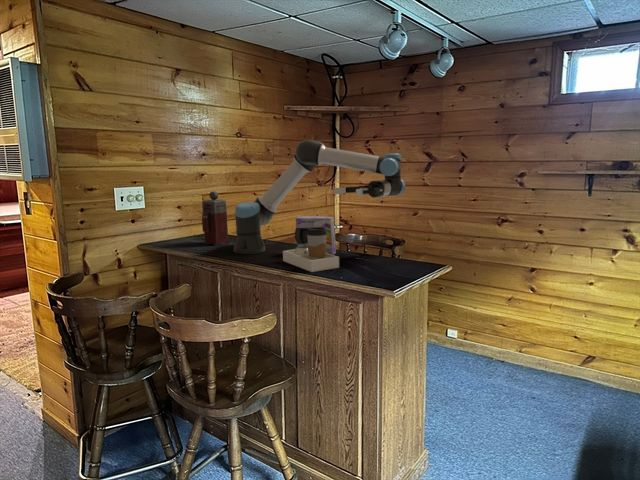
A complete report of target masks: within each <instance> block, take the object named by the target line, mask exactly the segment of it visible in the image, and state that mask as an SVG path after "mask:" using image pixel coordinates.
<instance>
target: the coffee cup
mask: <svg viewBox="0 0 640 480" xmlns="http://www.w3.org/2000/svg"><path fill="white" fill-rule="evenodd" d="M326 234H327V233H326V230H325V228H323V227H313V228H308V231H307V239H308V252H309V259H310V260H317V259H324V258H325V256H326Z"/></svg>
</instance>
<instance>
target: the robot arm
mask: <svg viewBox="0 0 640 480" xmlns="http://www.w3.org/2000/svg"><path fill="white" fill-rule="evenodd" d="M292 158H293V161H292V162H291V163H290V164H289V165H288V167H287V168H286V169H285V170H284V171H283V172H282V174H281V175H280V176H279V177H278V178H277V179H276V180H275V182H274V183H273V184H272V185H271V186H270V187H269V189H268V190H267V191H266V192H265V193H264V194H263V195H259V196H258V197H257V198H256V199H255V200H254V201H249V202H247V201H246V202H241V203H238V204H237V205H236V206H235V211H234V215H235V230H236V232H235V233H236V237H235V241H234V245H233V253H234V252H235V253H234V254H237V253H238V254H237V255H252V254H261V253H264V252H265V251H266V246H265V243H264V240H263V237H262V233H261V231H262V230H261V227H262V226H265V225H266V224H269V222H271V220H272V219H273V216H274V215H275V213H277V207H278V206H279V204H280V203H281V202H282V201H283V200H284V199H285V198H286V196H287V195H288V194H289V193H290V192H291V191H292V190H293V189H294V187H295V186H296V185H298V183H299V182H300V181H301V179H302V178H303V177H304V176H305V175H306V174H307V173H312V172H313V171H314V170H315V168H316V167H317V166H322V165H328V166H334V167H340V168H344V169H345V168H346V169H351V170H357V171H362V172H368V173H372V174H373V173H374V174H378V175H379V174H380V175H384V179H379V180H372V181H370V182H368V184H364V185H358V186H357V185H356V186H340V187H334V188H333V195H341V194H343V195H346V193H347V194H349V193H351V194H352V193H354V194H355V196H356V197H359V196H368V195H369V196H370V197H371V198H373V199H374V198H381V199H384V198H385V197H390V196H393V197H395V196H400V195H403V194H404V192H405V190H406V183H405V181H404V180H403V179H402V177H401V174H402V173H401V170H402V168H401V167H402V155H401V154H400V153H386V154H385V155H384V156H379V155H373V154H367V153H362V152H356V151H351V150H345V149H344V150H343V149H338V148H333V147H326V146H325V144H323V142H321V141H319V140H318V139H304V140H301V141H300V142H299V143H298V144H297V146H296V147H295V154H294V155H293V157H292Z"/></svg>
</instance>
